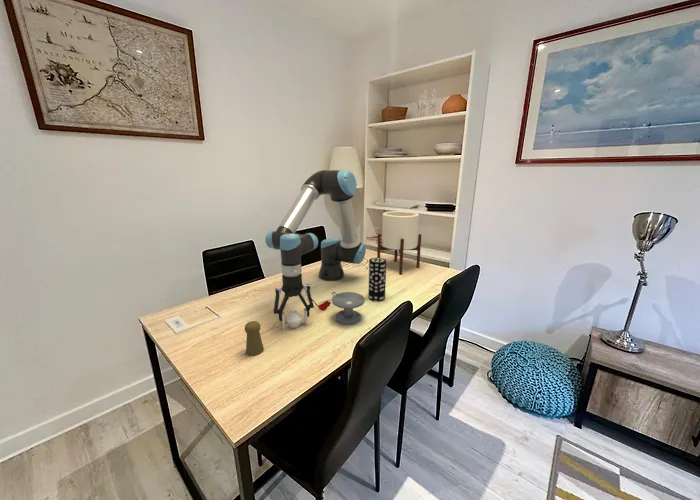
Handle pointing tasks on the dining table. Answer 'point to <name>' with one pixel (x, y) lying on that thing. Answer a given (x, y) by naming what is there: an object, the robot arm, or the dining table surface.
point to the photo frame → (181, 325)
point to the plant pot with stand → (400, 234)
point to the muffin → (294, 319)
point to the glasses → (324, 304)
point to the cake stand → (348, 307)
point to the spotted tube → (377, 279)
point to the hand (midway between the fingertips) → (294, 325)
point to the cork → (253, 339)
